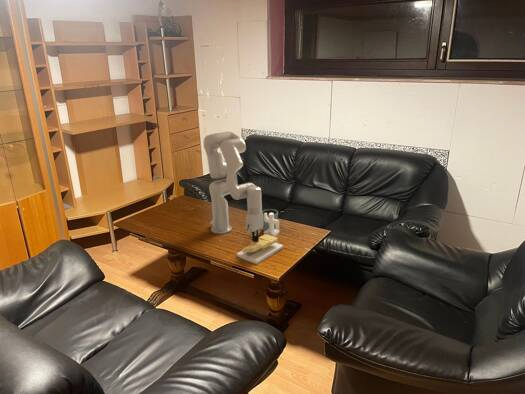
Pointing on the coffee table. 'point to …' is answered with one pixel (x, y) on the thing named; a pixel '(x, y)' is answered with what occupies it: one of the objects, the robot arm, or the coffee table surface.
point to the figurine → (271, 225)
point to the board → (260, 253)
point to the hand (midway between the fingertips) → (255, 240)
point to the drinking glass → (266, 225)
